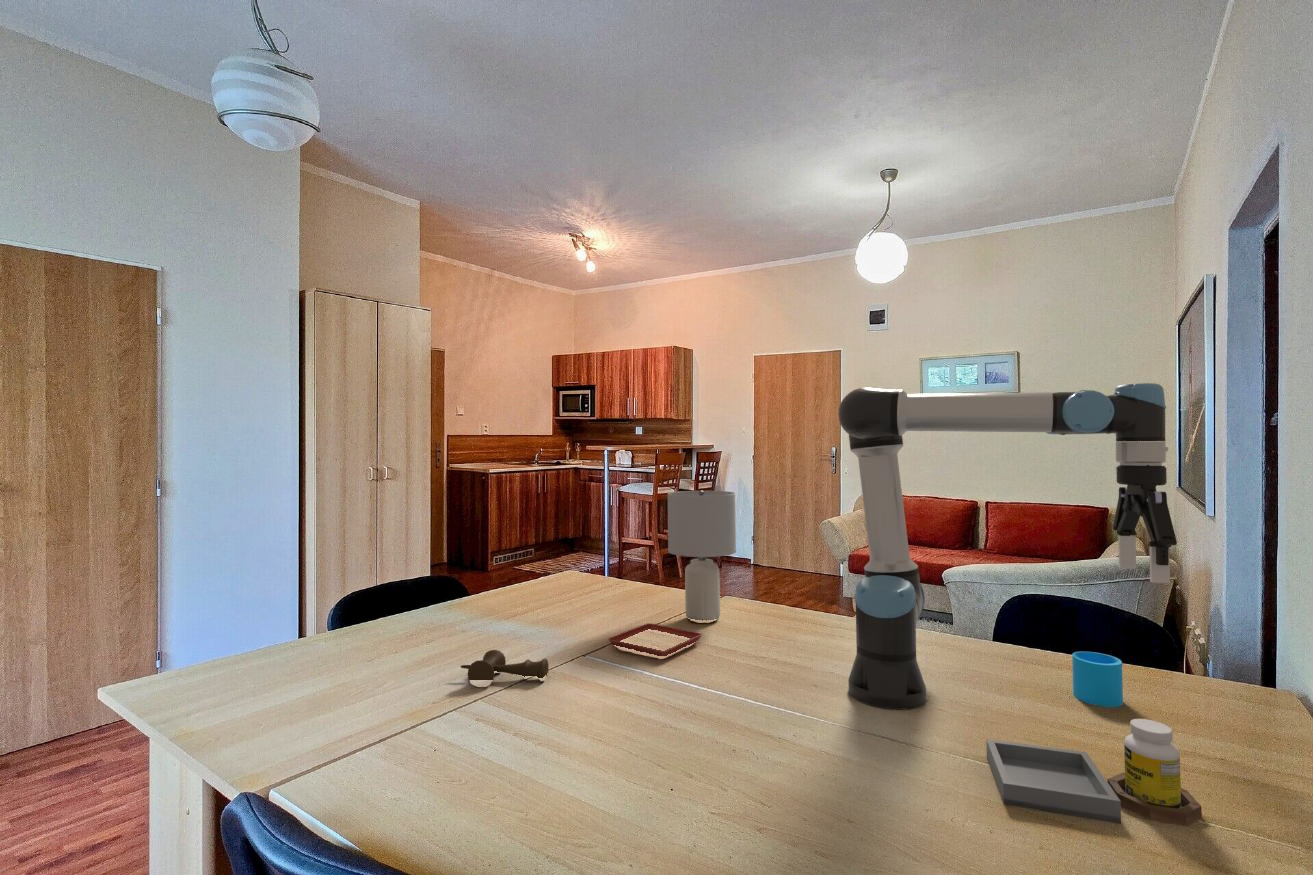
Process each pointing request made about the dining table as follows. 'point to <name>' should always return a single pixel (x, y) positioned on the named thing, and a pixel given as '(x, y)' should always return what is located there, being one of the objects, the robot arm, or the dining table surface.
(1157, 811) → the collar socket
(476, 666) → the kendama
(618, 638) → the plant saucer
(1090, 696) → the mug
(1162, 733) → the pill bottle
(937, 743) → the dining table surface
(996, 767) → the tray
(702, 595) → the lamp
